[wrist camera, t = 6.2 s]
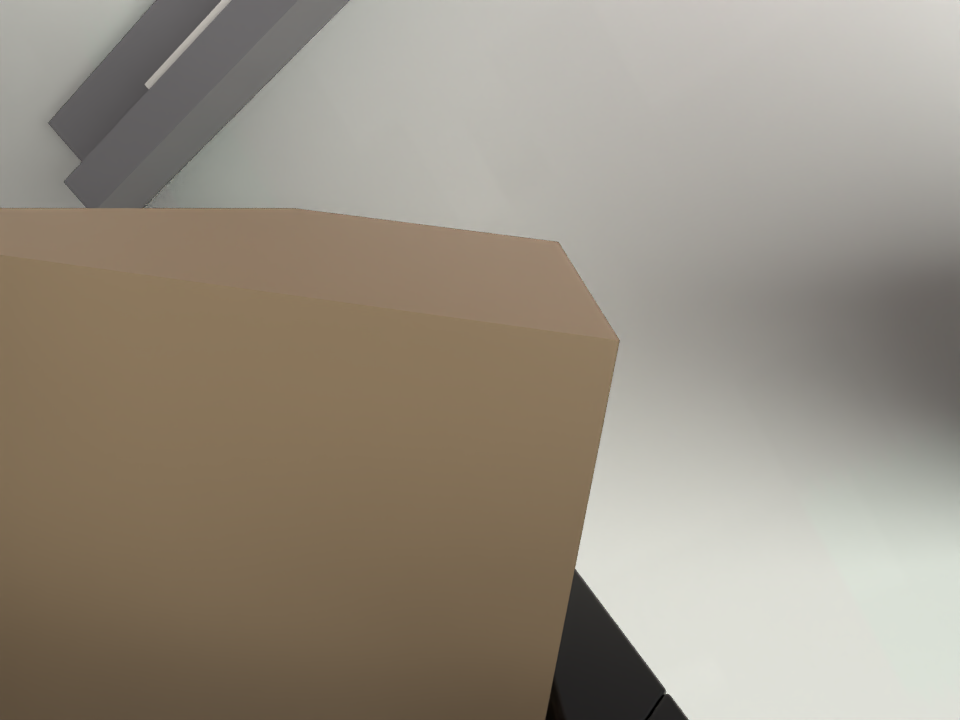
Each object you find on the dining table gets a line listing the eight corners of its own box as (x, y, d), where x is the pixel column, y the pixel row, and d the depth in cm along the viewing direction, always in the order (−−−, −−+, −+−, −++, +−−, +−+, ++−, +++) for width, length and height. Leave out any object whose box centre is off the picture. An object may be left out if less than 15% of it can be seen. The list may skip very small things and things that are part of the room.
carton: (558, 242, 9) (618, 340, 2) (490, 675, 11) (425, 1329, 5) (277, 205, 9) (-396, 199, 3) (271, 635, 12) (-81, 1199, 5)
